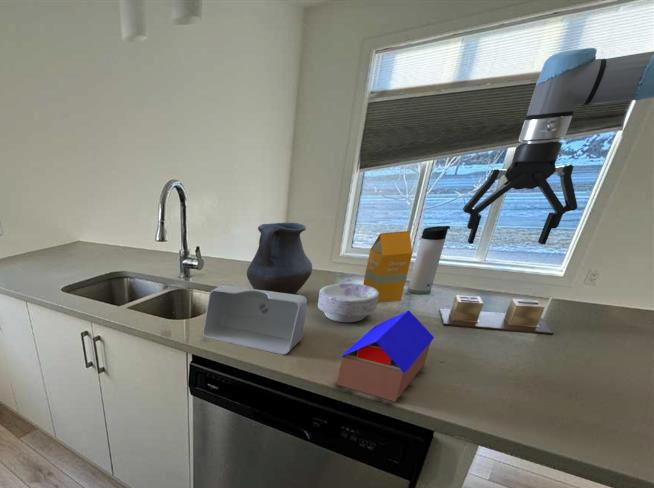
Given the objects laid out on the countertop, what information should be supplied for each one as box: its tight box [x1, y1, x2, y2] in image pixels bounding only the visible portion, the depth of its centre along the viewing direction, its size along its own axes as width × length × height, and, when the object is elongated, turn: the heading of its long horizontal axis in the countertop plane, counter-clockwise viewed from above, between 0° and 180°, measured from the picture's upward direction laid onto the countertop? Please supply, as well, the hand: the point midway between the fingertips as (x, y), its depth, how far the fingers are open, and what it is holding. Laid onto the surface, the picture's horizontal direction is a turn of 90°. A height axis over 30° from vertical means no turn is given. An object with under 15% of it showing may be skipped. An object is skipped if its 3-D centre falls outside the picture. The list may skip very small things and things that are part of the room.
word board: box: [438, 307, 554, 336], centre depth 106 cm, size 22×12×1 cm, turn 62°
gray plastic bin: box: [202, 284, 308, 356], centre depth 109 cm, size 25×16×12 cm, turn 51°
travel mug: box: [407, 225, 451, 295], centre depth 125 cm, size 6×7×20 cm
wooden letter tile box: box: [505, 298, 546, 326], centre depth 102 cm, size 5×5×5 cm
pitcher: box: [246, 222, 313, 295], centre depth 129 cm, size 21×22×25 cm
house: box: [336, 310, 435, 402], centre depth 85 cm, size 12×20×12 cm, turn 135°
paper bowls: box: [317, 282, 379, 323], centre depth 115 cm, size 15×15×8 cm
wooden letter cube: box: [450, 294, 485, 321], centre depth 108 cm, size 5×5×5 cm
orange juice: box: [362, 230, 413, 303], centre depth 123 cm, size 8×9×20 cm
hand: (504, 243), depth 98 cm, fingers open, 13 cm apart
